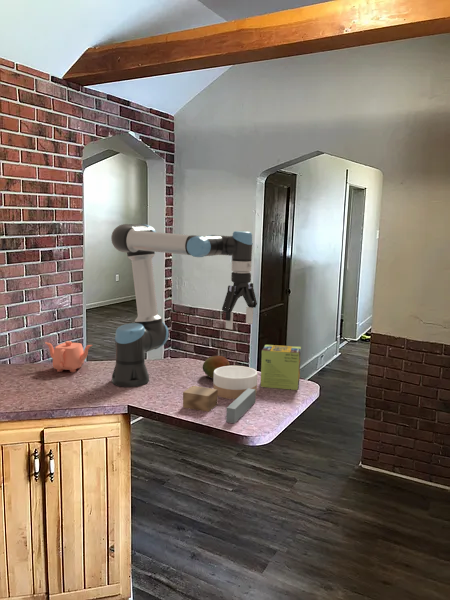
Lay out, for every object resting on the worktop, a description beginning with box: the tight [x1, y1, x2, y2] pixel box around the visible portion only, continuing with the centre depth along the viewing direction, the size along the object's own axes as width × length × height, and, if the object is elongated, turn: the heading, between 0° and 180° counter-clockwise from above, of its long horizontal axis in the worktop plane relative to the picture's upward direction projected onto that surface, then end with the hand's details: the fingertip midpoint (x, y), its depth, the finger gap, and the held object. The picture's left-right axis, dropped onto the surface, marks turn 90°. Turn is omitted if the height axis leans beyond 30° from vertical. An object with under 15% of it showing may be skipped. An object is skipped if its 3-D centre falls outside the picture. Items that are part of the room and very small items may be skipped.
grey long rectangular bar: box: [225, 388, 257, 424], centre depth 182 cm, size 3×22×5 cm, turn 159°
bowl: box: [212, 365, 258, 400], centre depth 203 cm, size 17×17×8 cm
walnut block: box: [182, 385, 219, 413], centre depth 187 cm, size 10×8×6 cm
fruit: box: [202, 355, 231, 379], centre depth 220 cm, size 12×13×10 cm
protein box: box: [260, 344, 302, 391], centre depth 212 cm, size 10×15×16 cm
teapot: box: [44, 340, 93, 373], centre depth 228 cm, size 15×17×13 cm
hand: (239, 326), depth 201 cm, fingers open, 13 cm apart
